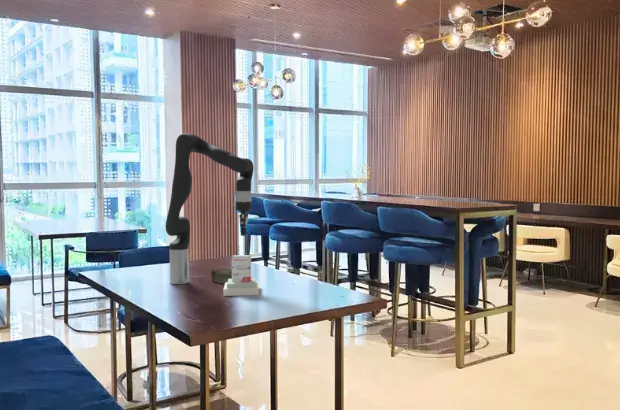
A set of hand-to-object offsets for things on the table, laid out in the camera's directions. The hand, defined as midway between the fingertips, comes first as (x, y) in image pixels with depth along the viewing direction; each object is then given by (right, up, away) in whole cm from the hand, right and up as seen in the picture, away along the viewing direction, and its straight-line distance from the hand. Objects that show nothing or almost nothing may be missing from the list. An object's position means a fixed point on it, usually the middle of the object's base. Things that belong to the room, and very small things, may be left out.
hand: (243, 234), depth 266 cm
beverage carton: (-9, -26, +16) cm, 31 cm away
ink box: (0, -22, -6) cm, 22 cm away
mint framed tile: (0, -26, -6) cm, 27 cm away
